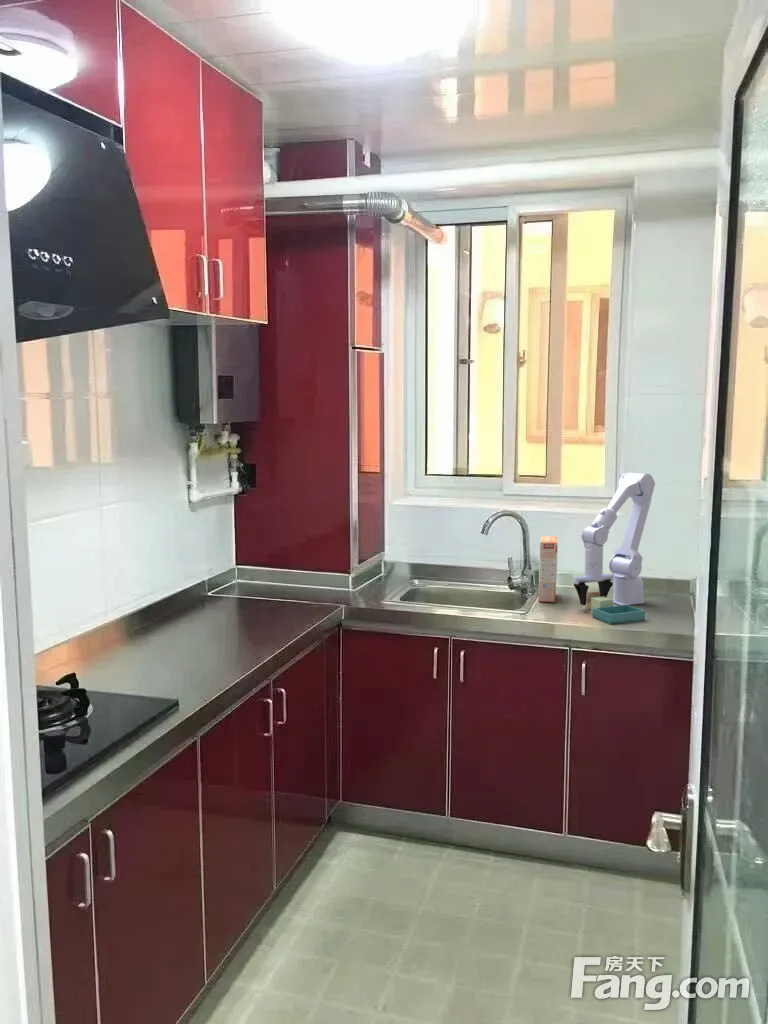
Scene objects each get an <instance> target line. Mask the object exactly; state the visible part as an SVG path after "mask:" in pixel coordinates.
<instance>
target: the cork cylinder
mask: <svg viewBox="0 0 768 1024" xmlns="http://www.w3.org/2000/svg"><path fill="white" fill-rule="evenodd" d="M592 597H600V592H599V591H597V590H587V595H586V605H585V609H586V608H587V609H586V610H589V609H591V598H592Z"/></svg>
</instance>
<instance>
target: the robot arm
mask: <svg viewBox="0 0 768 1024" xmlns="http://www.w3.org/2000/svg"><path fill="white" fill-rule="evenodd" d="M655 486H656V482H655V479H654V477H653V476H652V475H651V474H650V473H637V472H631V471H626V472H623V474H622V475H621V478H620V479H619V480H618V488H617V489H616V491H615V493H614V495H613V497H612V498H611V500H610V502H609V503H608V505H607V507H604V508H602V509H600V511H599V512H598V514H597V515H596V517H595V519H594V520H593V521H592V523H591V524H590V525H589V526H587V527H586V528H584V529H583V531H582V534H581V539H582V541H583V547H584V574H583V575H578V576H575V577H572V583H573V587H574V588H575V590H576V593H577V595H578V599H579V604H580V605H582V606H586V595H587V591H589V590H588V589H589V587H590V586H589V585H587V584H589V583H597V584H598V590H599V592H600V597H602V596H605V597H608V594H609V593H610V590H611V588H612V587H613V593H612V594H613V595H612V596H613V598H612V599H613V604H616V605H618V606H619V605H630V606H632V605H640V604H645V601H644V581H643V578H642V577H641V576H640V575H641V572H642V566H643V565H642V562H643V556H642V555H641V553H640V552H639V547H640V542H641V540H642V536H643V533H644V528H645V525H646V521H647V517H648V514H649V510H650V506H651V503H652V497H653V493H654V490H655ZM629 498H631V500H632V502H633V503H632V507H631V510H630V513H629V518H628V520H627V521H628V522H627V524H626V528H625V532H624V536H623V540H622V543H621V546H620V547H618V548H616V549H615V550H614V552H613V555H612V557H611V558H610V560H609V562H608V563H609V564H608V568H609V571H610V572H611V573H612V574H611V573H608V574H607V573H603V570H604V567H603V566H604V563H603V562H604V544H605V543H606V542H608V539H609V534H610V529H611V528H612V526H613V525H614V524H615V522H616V520H617V519H618V515H617V513H618V512H619V510H621V508H622V507H623V505H624V504H625V503H626V501H627V500H628V499H629Z"/></svg>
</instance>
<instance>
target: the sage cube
mask: <svg viewBox="0 0 768 1024" xmlns="http://www.w3.org/2000/svg"><path fill="white" fill-rule="evenodd" d="M610 606H614V603H613V598H610V597H608V596H607V597H605V596H602V597H592V598H591V610H590V613H591V614H593V608H601V607H610Z"/></svg>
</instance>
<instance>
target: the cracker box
mask: <svg viewBox="0 0 768 1024" xmlns="http://www.w3.org/2000/svg"><path fill="white" fill-rule="evenodd" d="M538 567H539V568H538V570H539V571H538V573H539V574H538V602H539V603H556V596H557V593H556V592H557V578H558V577H557V576H558V574H557V573H558V572H557V571H558V537H557V536H554V535H552V536H551V535H542V536H541V537H540V544H539V565H538Z"/></svg>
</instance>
